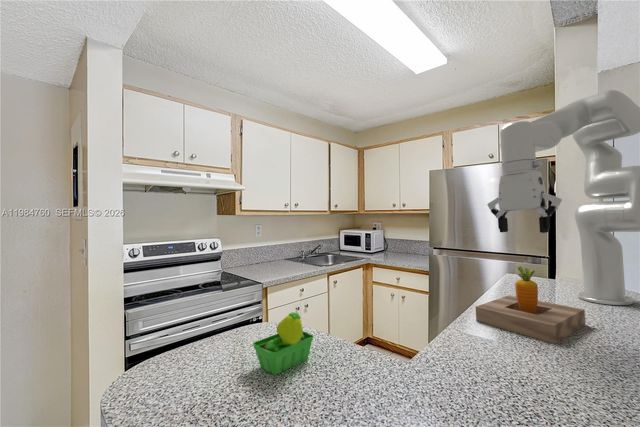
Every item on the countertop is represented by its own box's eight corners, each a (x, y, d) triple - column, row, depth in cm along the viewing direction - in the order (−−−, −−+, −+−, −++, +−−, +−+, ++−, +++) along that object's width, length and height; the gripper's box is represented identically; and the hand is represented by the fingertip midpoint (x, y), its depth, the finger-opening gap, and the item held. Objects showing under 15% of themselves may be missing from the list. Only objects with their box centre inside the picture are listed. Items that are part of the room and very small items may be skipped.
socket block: (509, 308, 89) (508, 295, 89) (585, 325, 73) (584, 309, 73) (476, 321, 79) (475, 306, 79) (555, 343, 64) (554, 325, 64)
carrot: (544, 325, 74) (541, 267, 74) (525, 326, 74) (522, 268, 74) (530, 318, 79) (527, 264, 79) (512, 319, 79) (509, 265, 79)
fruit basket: (294, 348, 68) (292, 300, 68) (320, 360, 61) (317, 307, 62) (252, 367, 60) (249, 313, 60) (277, 383, 54) (274, 322, 54)
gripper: (564, 163, 72) (569, 231, 72) (493, 174, 87) (497, 231, 86) (551, 161, 68) (556, 233, 68) (479, 173, 83) (483, 232, 82)
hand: (523, 232), depth 77 cm, fingers open, 9 cm apart
